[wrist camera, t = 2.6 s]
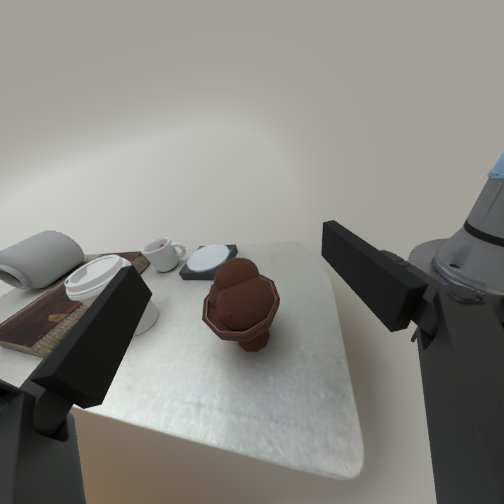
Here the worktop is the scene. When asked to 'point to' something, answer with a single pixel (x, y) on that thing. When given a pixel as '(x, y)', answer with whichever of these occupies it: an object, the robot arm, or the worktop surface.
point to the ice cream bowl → (241, 304)
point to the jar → (39, 260)
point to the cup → (162, 253)
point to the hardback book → (50, 316)
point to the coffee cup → (103, 286)
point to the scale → (207, 261)
